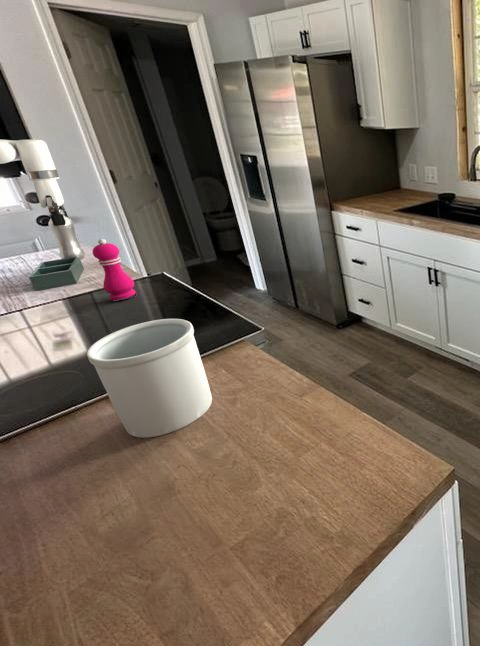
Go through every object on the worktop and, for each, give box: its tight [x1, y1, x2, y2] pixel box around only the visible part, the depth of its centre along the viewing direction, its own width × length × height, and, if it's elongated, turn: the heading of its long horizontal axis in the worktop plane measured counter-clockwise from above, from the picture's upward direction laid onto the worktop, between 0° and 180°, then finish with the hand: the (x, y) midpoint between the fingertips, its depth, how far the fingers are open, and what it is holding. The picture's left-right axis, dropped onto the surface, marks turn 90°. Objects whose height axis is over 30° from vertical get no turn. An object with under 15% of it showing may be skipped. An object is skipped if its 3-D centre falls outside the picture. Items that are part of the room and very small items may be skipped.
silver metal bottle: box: [48, 209, 86, 261], centre depth 157 cm, size 6×7×20 cm
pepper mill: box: [92, 238, 137, 301], centre depth 130 cm, size 7×7×20 cm
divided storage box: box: [28, 256, 85, 292], centre depth 149 cm, size 10×19×5 cm, turn 39°
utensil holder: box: [86, 318, 213, 439], centre depth 79 cm, size 15×15×18 cm
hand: (61, 222), depth 155 cm, fingers closed on silver metal bottle, 6 cm apart
